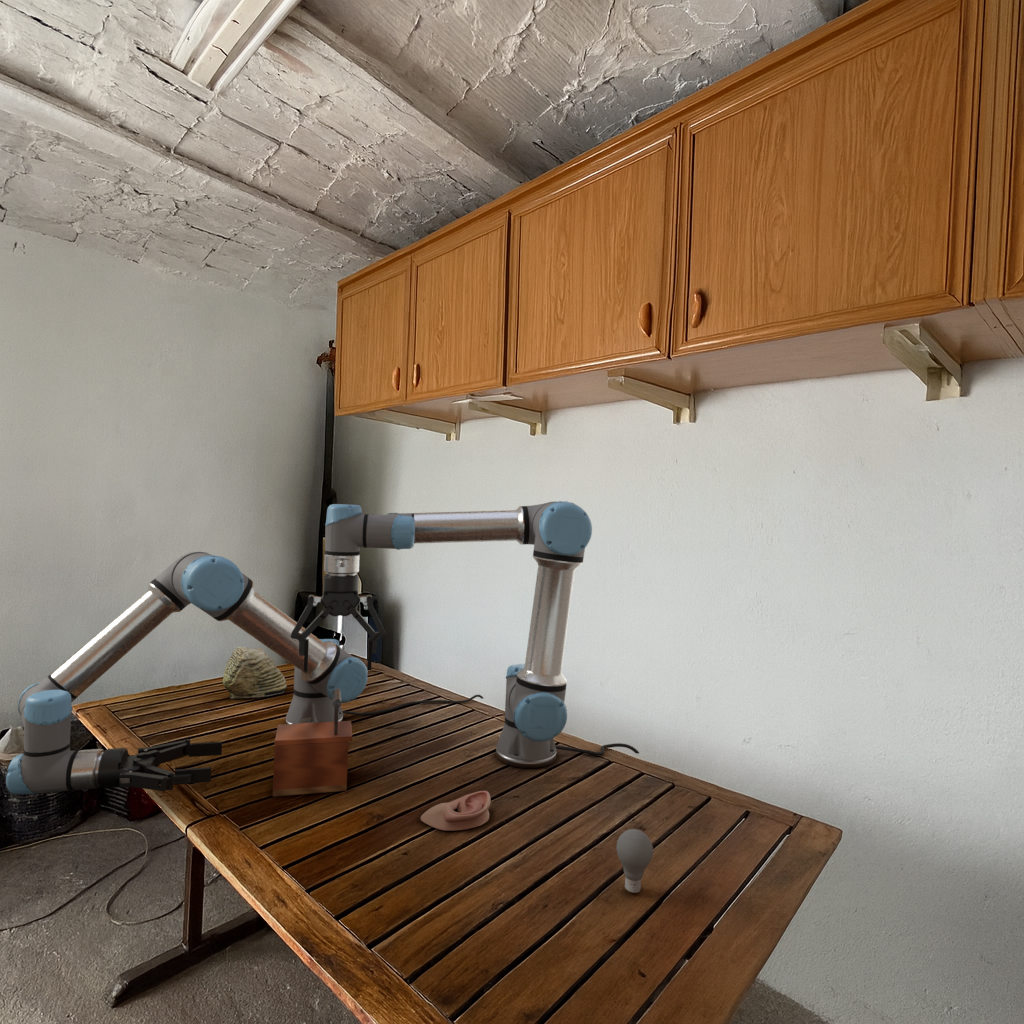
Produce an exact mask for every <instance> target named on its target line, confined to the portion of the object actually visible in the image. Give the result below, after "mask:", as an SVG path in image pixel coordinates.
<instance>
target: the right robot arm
mask: <svg viewBox="0 0 1024 1024" xmlns="http://www.w3.org/2000/svg"><path fill="white" fill-rule="evenodd" d="M325 519H326V520H325V524H324V526H325V529H324V530H325V531H324V532H325V534H324V540H325V541H324V559H323V560H324V561H323V562H324V563H323V572H324V573H325V574H324V575H323V587H322V588H323V590H322V595H321V596H316V595H314V594H309V595H308V598H307V602H306V603H307V604H306V606H305V608H304V610H303V612H302V613H301V615H300V617H299V619H298V620H297V621H296V622H297V624H296V626H295V627H294V629H293V631H292V633H291V638H292V639H297V640H298V641H299V655H300V656H304V672H307V670H308V647H309V639H306V638H307V637H308V636H309V635H310V634H311V633H312V634H313V632H314V631H315V630H316V628H317V627H319V625H320V624H321V623H322V622H323V621H324V620H325V619H326V618H327V617H328V616H329V615H330V616H332V617H340V616H341V617H348V616H350V615H352V617H353V618H354V619H355V620H356V621H357V622H358V624H359V625H360V626H361V627H362V629H364V631H365V632H366V633H367V634H368V635H369V637H368V638H367V659H366V668H367V671H372V663H373V662H372V660H373V659H372V658H373V655H376V654H377V652H378V641H379V639H381V638H384V637H386V636H387V633H386V630H385V628H384V626H383V625H382V622H381V620H380V618H379V616H378V613H377V611H376V609H375V608H374V602H373V597H372V594H367V595H363V596H360V595H359V585H360V583H359V582H360V576H359V575H358V573H359V572H360V557H361V556H360V555H361V552H360V550H361V548H363V549H367V548H368V549H369V548H371V549H385V550H386V549H387V550H389V549H392V550H396V551H397V550H398V551H399V550H411V549H413V548H414V546H415V544H444V543H445V544H446V543H452V544H453V543H480V542H481V543H485V542H517V543H518V544H519V545H520V546H521V545H531V546H532V545H533V551H532V558H533V559H534V560H535V561H536V563H537V572H536V580H535V587H534V594H533V601H532V602H533V603H532V610H531V615H530V624H529V632H528V638H527V639H528V640H527V647H526V653H525V654H526V655H525V661H524V663H515V664H511V665H509V666H507V669H506V675H505V679H506V680H505V682H506V683H505V703H504V704H505V705H504V724H503V726H502V730H501V733H500V735H499V738H498V740H497V744H496V746H495V748H496V749H495V756H496V758H497V759H498V760H499V761H500V762H501V763H503V764H505V765H508V766H511V767H516V768H520V769H539V768H544V767H547V766H550V765H552V764H553V763H554V762H556V760H557V750H561V751H568V752H574V753H582V754H587V755H590V756H591V755H592V756H596V757H599V756H603V755H604V754H605V749H609V748H610V749H611V748H626V749H628V750H631V751H632V752H634V753H635V754H636V755H637V754H640V752H639V751H638V749H636V747H634V746H632V745H630V744H627V743H620V742H617V743H608V744H604V745H601V746H600V751H592V750H589V749H583V748H577V747H569V746H563V745H556V742H555V739H554V738H557V736H559V735H560V734H561V733H562V732H563V730H564V729H565V727H566V725H567V720H568V709H567V705H566V704H565V700H566V699H565V698H566V693H567V684H568V680H567V678H566V677H565V676H564V674H563V673H562V672H563V665H564V656H565V651H566V650H565V648H566V643H567V642H566V641H567V634H568V628H569V627H568V626H569V620H570V611H571V604H572V598H573V589H574V582H575V575H576V570H577V569H578V568H580V566H582V565H583V564H584V557H585V549H586V547H587V546H588V545H589V543H590V541H591V538H592V535H593V525H592V524H593V523H592V521H591V518H590V516H589V515H588V513H587V512H586V511H585V510H584V509H583V508H582V507H581V506H579V505H578V504H576V503H574V502H571V501H567V500H565V501H563V500H561V501H560V500H559V501H548V502H544V503H539V504H533V505H520V506H518V507H517V508H516V509H514V510H513V509H512V510H508V509H507V510H477V511H476V510H475V511H472V510H471V511H442V512H441V511H439V512H435V511H434V512H433V511H432V512H403V513H402V512H401V513H398V512H389V513H386V514H369V513H363V510H362V506H361V505H359V504H347V503H346V504H344V503H343V504H341V503H333V504H329V506H328V507H327V510H326V518H325ZM318 603H321V605H322V606H323V609H322V610H321V612H319V614H318V615H317V616H316V617H315V618H314V619H313V620H312V621H311V623H310V624H309V625H308V626H307V627H306V628H305V630H304V631H303V633H302V634H301V633H299V631H300V629H301V628H302V627H304V624H305V622H306V620H307V619H308V617H309V615H310V614H311V612H312V609H313V608H314V607H316V606H318ZM360 603H362V604H363V606H365V607H367V609H368V612H369V614H370V616H371V618H372V620H373V622H374V624H375V627H376V628H377V631H375V630H374V629H373V628H372V626H371V625H370V624H369V623H368V622H367V620H366V619H365V618H364V617H363V616H362V614H361V613H360V612H359V610H357V607H358V606H359V604H360Z"/></svg>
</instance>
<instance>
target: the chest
mask: <svg viewBox="0 0 1024 1024" xmlns="http://www.w3.org/2000/svg"><path fill="white" fill-rule="evenodd" d="M273 751H274V753H273V773H272V774H273V779H272V798H273V797H284V796H296V795H297V796H298V795H309V794H322V793H333V792H345V791H347V790H348V763H349V762H348V761H349V741H347V742H330V743H314V744H297V745H281V746H275V745H274V750H273Z"/></svg>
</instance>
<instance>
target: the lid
mask: <svg viewBox="0 0 1024 1024" xmlns="http://www.w3.org/2000/svg"><path fill="white" fill-rule="evenodd" d="M332 696H333V706H334V722H318V723H299V724H286V723H284V724H282V723H281V724H278V725H277V728H276V733H275V738H274V747H275V746H281V745H297V744H314V743H330V742H347V741H348V742H353V729H352V721H351V720H343V721H338V710H339V707H340V706H341V707H342V704H343V703H342V702H341V691H340V689H334V690H333V692H332Z"/></svg>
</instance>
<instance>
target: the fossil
mask: <svg viewBox="0 0 1024 1024" xmlns="http://www.w3.org/2000/svg"><path fill="white" fill-rule="evenodd" d="M222 676H223V677H222V685H223V687H224V688H225V690H226V691H228V693H229V698H230V699H250V698H264V697H271V696H275V695H281V694H284V693H285V691H286V689H287V687H288V686H287V680H286V678H285V676H284V674H283V673H282V672H281V669H279V668H278V667H277V665H276V663H275V662H274V660H273V659H272V658H271V657H270V656H269V655H268V654H267V653H266V652H265V650H264V649H263V648H260V647H258V648H251V647H247V646H246V647H245V646H238V647H237V648H236V649H235V650H233V651H232V653H231V656H230V657H229V659H228V660H227V663H226V666H225V668H224V671H223V675H222Z"/></svg>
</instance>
